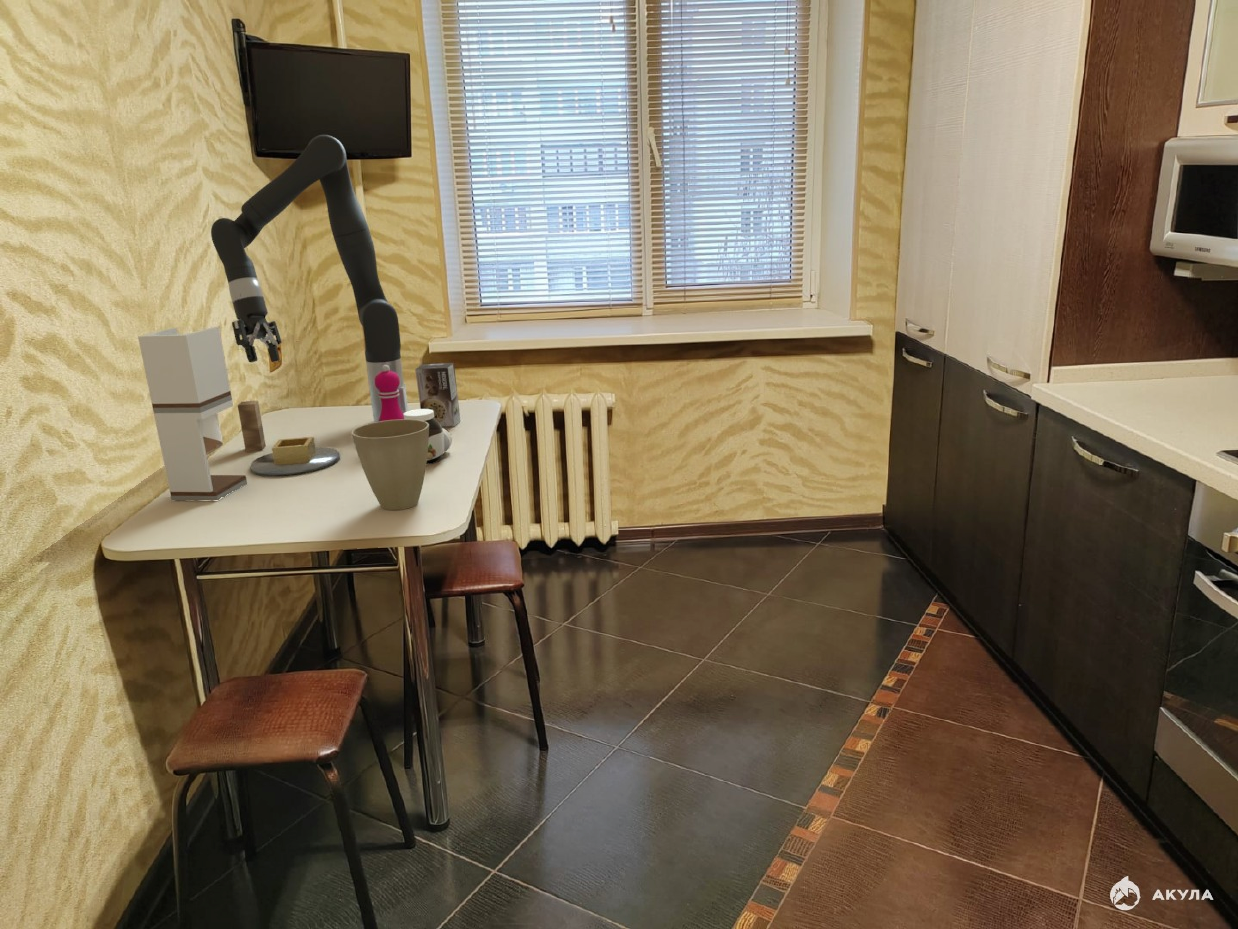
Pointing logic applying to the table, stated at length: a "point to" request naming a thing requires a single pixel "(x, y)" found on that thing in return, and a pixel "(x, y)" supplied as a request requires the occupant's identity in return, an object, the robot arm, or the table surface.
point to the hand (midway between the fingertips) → (264, 361)
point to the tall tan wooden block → (251, 426)
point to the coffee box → (439, 392)
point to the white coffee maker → (189, 408)
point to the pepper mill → (388, 394)
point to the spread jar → (432, 433)
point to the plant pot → (394, 460)
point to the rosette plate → (295, 458)
